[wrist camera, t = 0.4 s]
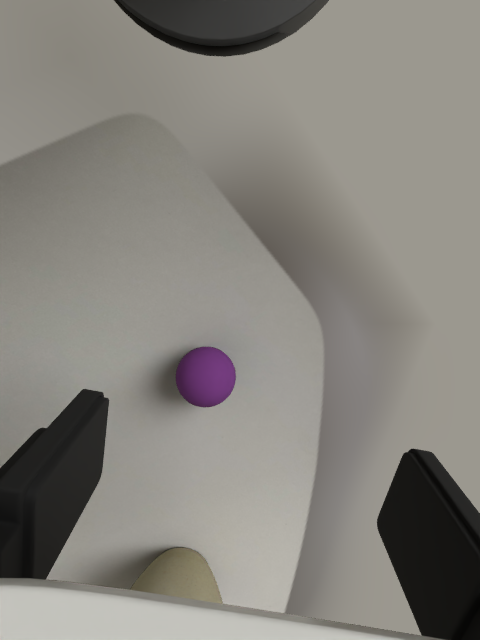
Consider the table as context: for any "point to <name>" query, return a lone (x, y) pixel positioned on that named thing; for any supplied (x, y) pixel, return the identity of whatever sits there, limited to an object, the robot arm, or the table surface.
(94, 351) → the table surface
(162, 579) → the flower pot
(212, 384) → the ball
